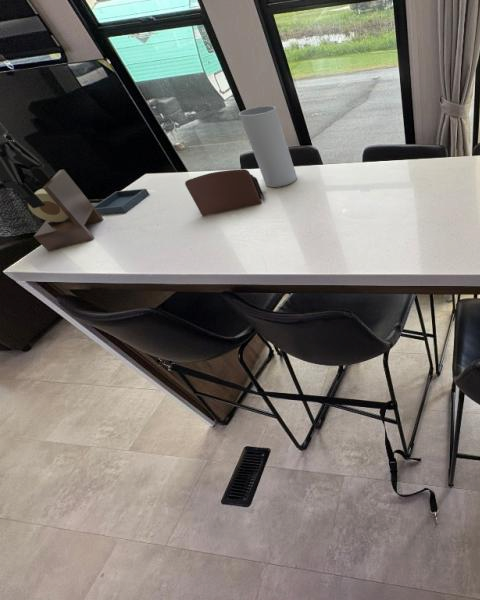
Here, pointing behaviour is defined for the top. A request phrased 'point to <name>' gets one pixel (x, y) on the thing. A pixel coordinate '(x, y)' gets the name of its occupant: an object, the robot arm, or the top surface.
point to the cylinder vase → (269, 145)
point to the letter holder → (224, 191)
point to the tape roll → (48, 208)
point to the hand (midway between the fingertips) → (46, 198)
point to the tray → (121, 201)
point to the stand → (74, 208)
